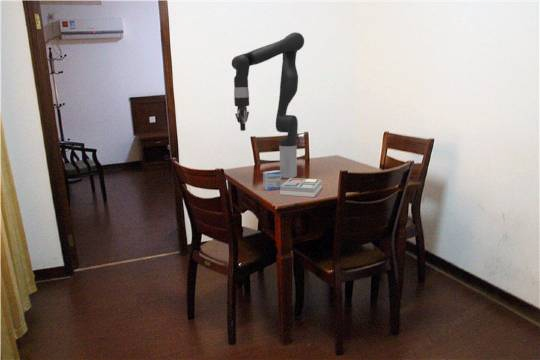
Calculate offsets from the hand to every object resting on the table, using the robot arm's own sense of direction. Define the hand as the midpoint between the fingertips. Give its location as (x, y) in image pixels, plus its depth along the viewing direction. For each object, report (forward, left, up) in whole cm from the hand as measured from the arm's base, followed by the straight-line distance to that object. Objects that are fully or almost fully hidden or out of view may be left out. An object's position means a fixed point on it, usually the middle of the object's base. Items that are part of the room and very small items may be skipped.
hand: (242, 130), depth 209 cm
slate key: (+17, +31, -24) cm, 43 cm away
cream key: (+10, +39, -24) cm, 46 cm away
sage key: (+17, +39, -24) cm, 49 cm away
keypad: (+14, +35, -26) cm, 46 cm away
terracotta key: (+10, +31, -24) cm, 41 cm away
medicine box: (+13, +20, -27) cm, 36 cm away
